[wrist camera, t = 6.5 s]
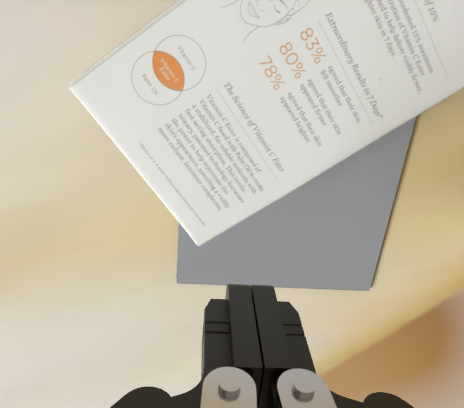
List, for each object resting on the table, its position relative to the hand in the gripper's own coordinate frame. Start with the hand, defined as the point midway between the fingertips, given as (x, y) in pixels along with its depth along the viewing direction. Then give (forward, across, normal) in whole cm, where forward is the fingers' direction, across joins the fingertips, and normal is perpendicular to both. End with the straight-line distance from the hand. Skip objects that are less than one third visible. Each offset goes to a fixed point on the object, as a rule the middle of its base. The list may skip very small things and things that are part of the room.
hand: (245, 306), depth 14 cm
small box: (+7, +4, -3) cm, 9 cm away
